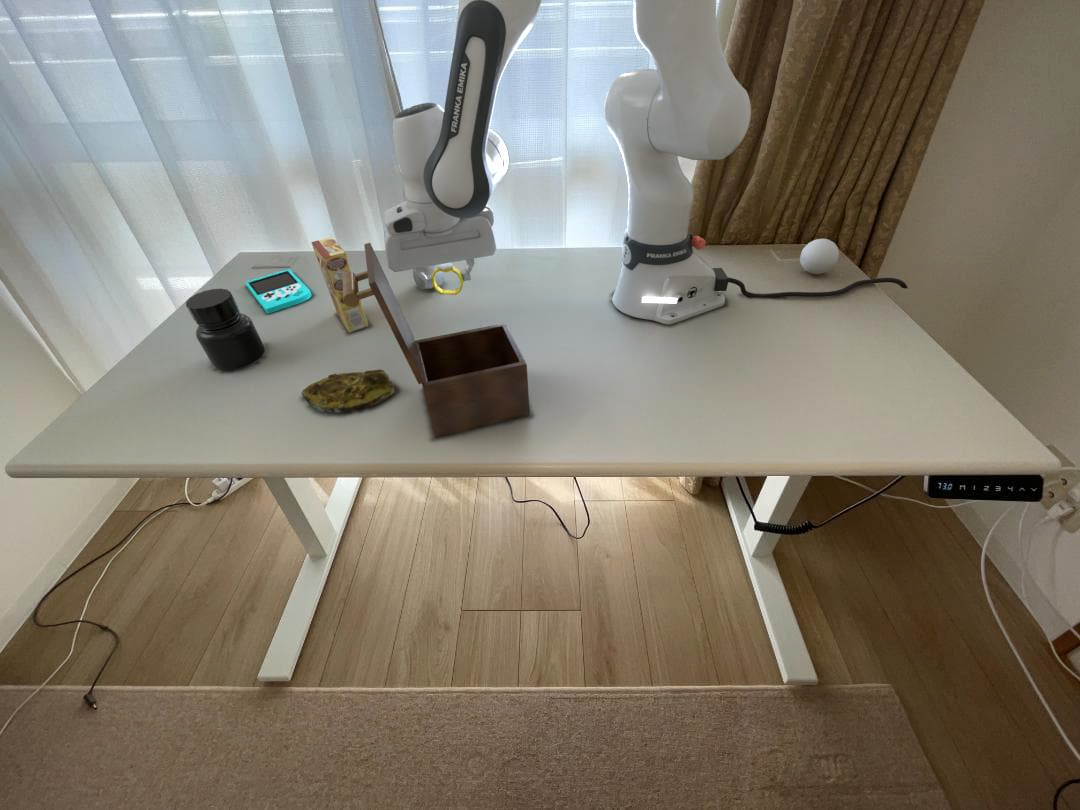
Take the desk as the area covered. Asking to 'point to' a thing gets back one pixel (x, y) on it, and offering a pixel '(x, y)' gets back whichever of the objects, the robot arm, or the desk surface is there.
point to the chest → (473, 379)
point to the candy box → (338, 281)
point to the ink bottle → (224, 330)
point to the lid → (383, 306)
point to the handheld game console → (278, 290)
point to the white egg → (819, 256)
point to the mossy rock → (349, 391)
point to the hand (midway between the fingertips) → (447, 282)
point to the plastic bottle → (427, 272)
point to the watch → (447, 268)
